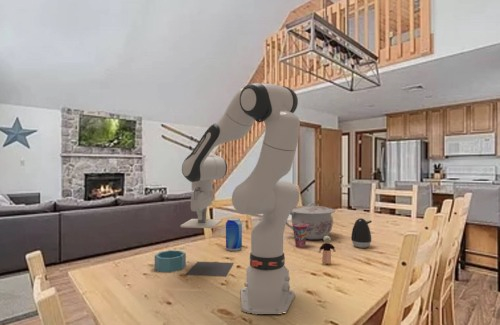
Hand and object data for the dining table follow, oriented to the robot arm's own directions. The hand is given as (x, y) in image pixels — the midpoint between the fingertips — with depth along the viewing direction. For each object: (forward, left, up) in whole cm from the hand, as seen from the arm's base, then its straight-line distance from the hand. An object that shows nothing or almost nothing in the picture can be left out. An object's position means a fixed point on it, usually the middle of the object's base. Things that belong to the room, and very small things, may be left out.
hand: (202, 218), depth 135 cm
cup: (+41, -43, -22) cm, 63 cm away
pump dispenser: (+44, -75, -22) cm, 89 cm away
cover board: (0, 0, -2) cm, 2 cm away
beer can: (+32, -8, -22) cm, 39 cm away
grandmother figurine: (+13, -54, -22) cm, 59 cm away
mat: (0, -4, -22) cm, 22 cm away
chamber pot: (+63, -50, -22) cm, 83 cm away
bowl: (0, +14, -22) cm, 26 cm away
